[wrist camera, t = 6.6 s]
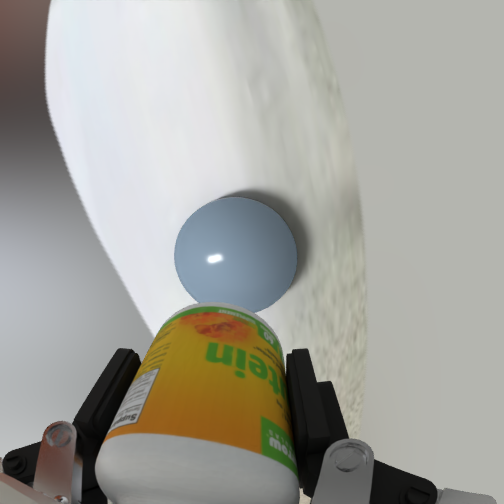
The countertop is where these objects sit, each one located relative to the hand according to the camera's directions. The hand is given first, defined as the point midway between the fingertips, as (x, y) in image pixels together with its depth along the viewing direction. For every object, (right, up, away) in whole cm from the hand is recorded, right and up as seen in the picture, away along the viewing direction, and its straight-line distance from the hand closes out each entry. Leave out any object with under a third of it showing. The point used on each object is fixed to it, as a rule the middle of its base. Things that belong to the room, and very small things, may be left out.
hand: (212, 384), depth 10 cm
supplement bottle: (0, +1, +2) cm, 2 cm away
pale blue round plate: (0, +5, +15) cm, 15 cm away
